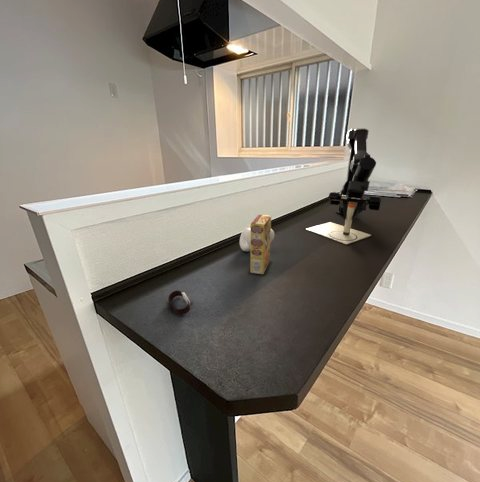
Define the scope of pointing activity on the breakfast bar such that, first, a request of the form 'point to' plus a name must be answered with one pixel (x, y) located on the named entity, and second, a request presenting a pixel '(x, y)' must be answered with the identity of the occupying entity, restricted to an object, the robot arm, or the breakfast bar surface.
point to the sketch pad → (338, 233)
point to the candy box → (260, 243)
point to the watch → (179, 293)
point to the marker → (349, 218)
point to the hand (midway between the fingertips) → (348, 219)
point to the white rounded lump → (249, 238)
